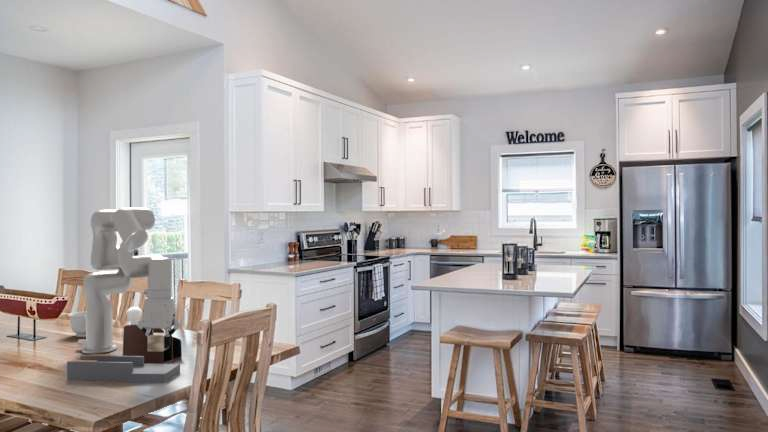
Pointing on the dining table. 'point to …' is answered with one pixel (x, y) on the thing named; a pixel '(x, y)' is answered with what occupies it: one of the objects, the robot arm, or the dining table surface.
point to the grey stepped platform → (120, 369)
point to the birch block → (156, 342)
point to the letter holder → (138, 346)
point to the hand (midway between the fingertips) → (159, 346)
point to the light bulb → (134, 315)
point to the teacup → (78, 323)
